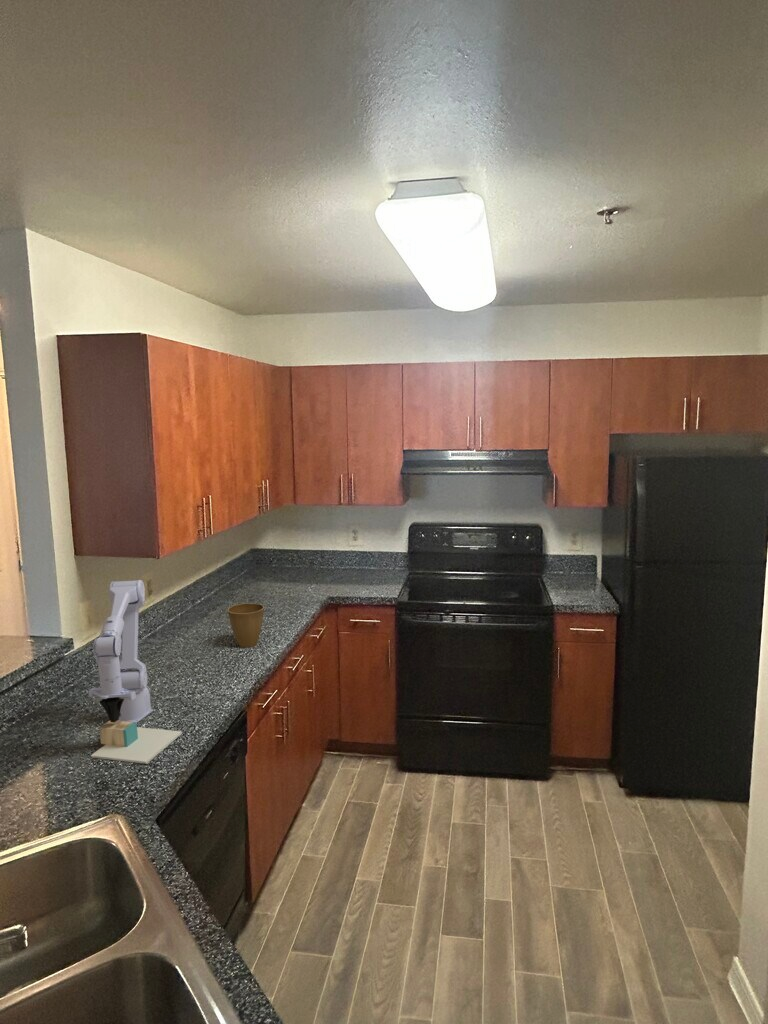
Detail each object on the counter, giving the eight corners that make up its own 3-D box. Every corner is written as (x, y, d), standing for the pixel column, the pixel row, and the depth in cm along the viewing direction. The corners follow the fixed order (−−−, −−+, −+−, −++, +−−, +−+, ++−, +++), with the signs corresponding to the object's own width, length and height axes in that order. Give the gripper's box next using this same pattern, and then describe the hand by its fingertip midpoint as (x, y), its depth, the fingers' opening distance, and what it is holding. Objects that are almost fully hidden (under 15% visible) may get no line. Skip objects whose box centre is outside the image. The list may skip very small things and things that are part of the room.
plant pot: (223, 650, 271) (221, 612, 269) (240, 638, 285) (237, 602, 283) (257, 651, 268) (254, 613, 265) (271, 639, 282) (269, 603, 280)
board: (130, 728, 203) (130, 726, 203) (182, 733, 199) (181, 731, 199) (90, 757, 186) (90, 755, 186) (146, 763, 181) (146, 761, 181)
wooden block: (110, 720, 197) (136, 722, 194) (111, 735, 197) (138, 738, 195) (99, 727, 192) (125, 730, 190) (100, 743, 193) (127, 746, 190)
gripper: (79, 680, 189) (84, 724, 191) (123, 683, 186) (127, 729, 188) (96, 671, 196) (100, 714, 198) (138, 674, 192) (142, 718, 194)
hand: (114, 720), depth 193 cm, fingers closed
